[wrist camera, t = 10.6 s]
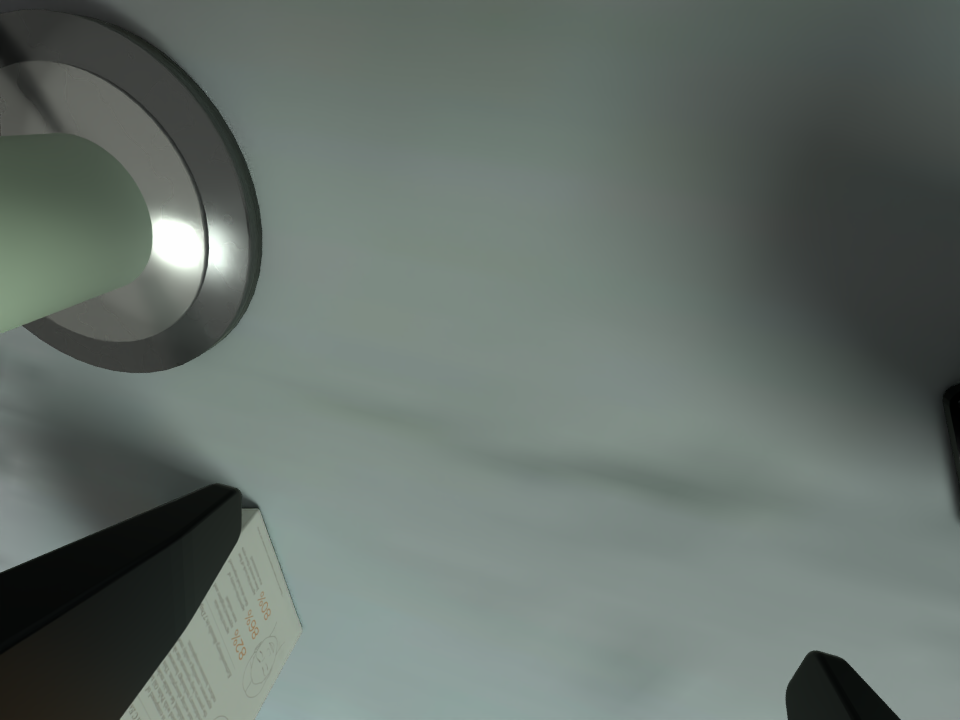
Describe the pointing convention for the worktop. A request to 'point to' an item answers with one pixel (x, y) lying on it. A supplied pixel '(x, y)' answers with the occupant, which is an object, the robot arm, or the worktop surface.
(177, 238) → the platter
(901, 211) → the worktop surface
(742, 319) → the worktop surface
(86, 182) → the canister
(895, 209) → the worktop surface
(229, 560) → the small box
